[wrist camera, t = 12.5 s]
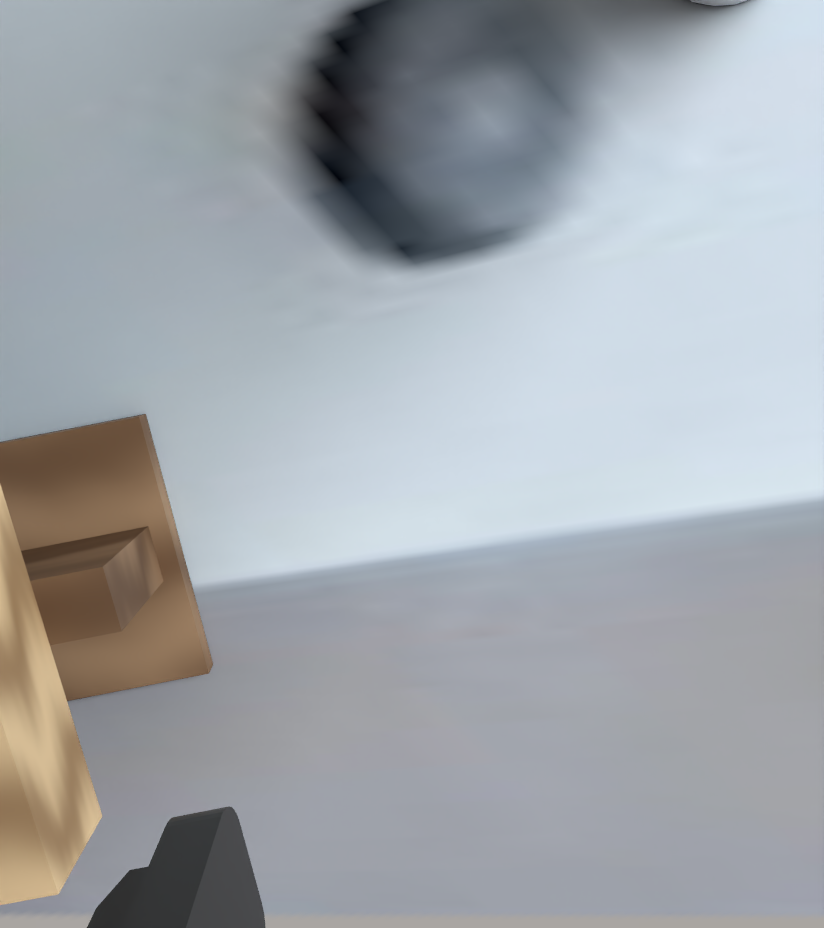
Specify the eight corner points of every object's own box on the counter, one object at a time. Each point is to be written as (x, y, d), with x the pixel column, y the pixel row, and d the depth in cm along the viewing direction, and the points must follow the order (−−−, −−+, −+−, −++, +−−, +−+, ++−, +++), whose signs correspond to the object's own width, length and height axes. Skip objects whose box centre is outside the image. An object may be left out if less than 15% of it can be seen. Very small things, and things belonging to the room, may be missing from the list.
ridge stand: (-109, 463, 36) (-225, 497, 29) (145, 414, 36) (89, 436, 29) (-22, 710, 39) (-109, 794, 32) (213, 664, 39) (176, 739, 32)
